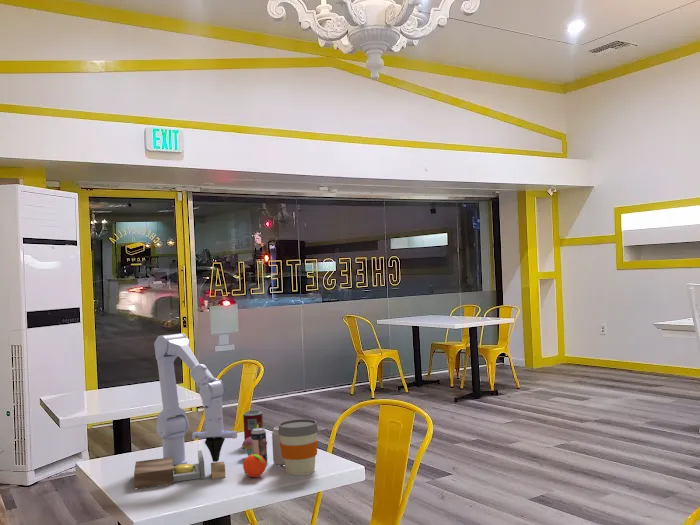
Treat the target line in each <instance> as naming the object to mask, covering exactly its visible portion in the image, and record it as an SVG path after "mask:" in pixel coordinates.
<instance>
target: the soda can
mask: <svg viewBox="0 0 700 525" xmlns="http://www.w3.org/2000/svg"><path fill="white" fill-rule="evenodd" d="M242 416H243V436H244V437H243V438H244V441H245V440H246V439H247V438H249V437H251V432H252V430H253V429H255V428H257V425H259V427H258V428H264V420H263V418H264V417H263V412H262V411H260V410H247V411H245V413H243V415H242Z"/></svg>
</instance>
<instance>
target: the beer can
mask: <svg viewBox="0 0 700 525" xmlns="http://www.w3.org/2000/svg"><path fill="white" fill-rule="evenodd" d="M251 440H252V454H259V455H260V456H262V457H263V458H264V460H265V463H266V466H267V465H268V449H267V448H268V447H267V446H268V443H267V444H266V441H267V431H266V429H265V428H264V427H263V428H255V429H253V430H252V432H251Z"/></svg>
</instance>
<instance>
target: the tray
mask: <svg viewBox="0 0 700 525" xmlns="http://www.w3.org/2000/svg"><path fill="white" fill-rule="evenodd" d="M197 459H198V460H197V461H198V463H191V464H192V465H193V472H190V473H182V474H174V466H173V479H174V483H175V482H176V483H177V482H181V481H182V482H183V481H189V480H198V479H200V480H203V479H204V480H205V478H206V475H205V474H206V473H205V459H204V455H203V451H202V450H197Z"/></svg>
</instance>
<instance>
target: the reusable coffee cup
mask: <svg viewBox="0 0 700 525" xmlns="http://www.w3.org/2000/svg"><path fill="white" fill-rule="evenodd" d="M278 426H279V432H278V434H279V435H280V440H281V442H280V448H281V453H282V457H283V458H284V463H285V466H284V467H285V473H286V472H287V473H288V474H287V473H286V474H287V475H289V474H291V475H290V476H304V475H303V474H305V475H309V474H312V473H314V472H315V467H316V456H317V455H318V446H319V444H318V442H319V439H318V436H317V435H318V431H319V429H318V428H319V427H318V422H317V421H316V420H314V419H310V418H309V419H307V418H304V419H303V418H302V419H301V418H299V419H291V420H286V421H282V422H280V423H279V424H278ZM313 471H314V472H313ZM308 473H309V474H308Z"/></svg>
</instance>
